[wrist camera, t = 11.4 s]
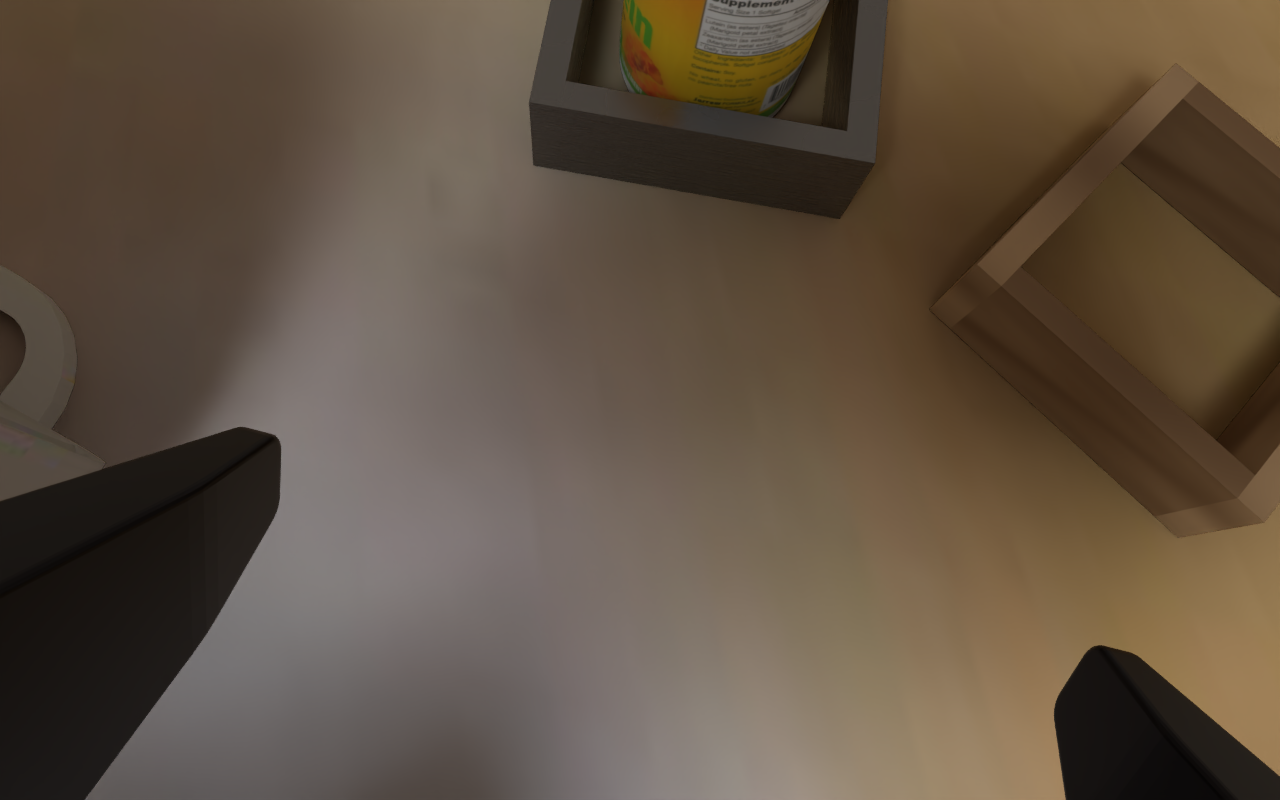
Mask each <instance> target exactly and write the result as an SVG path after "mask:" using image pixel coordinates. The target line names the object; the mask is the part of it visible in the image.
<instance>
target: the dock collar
mask: <svg viewBox="0 0 1280 800" xmlns="http://www.w3.org/2000/svg"><path fill="white" fill-rule="evenodd" d="M593 5H594V0H551V2H550V7H549V12H548V16H547V21H546V26H545V30H544V35H543V40H542V44H541V49H540V54H539V58H538V63H537V68H536V72H535V77H534V82H533V86H532V91H531V96H530V100H529V107H530V122H531V136H532V151H533V165H535V166H541V167H547V168H553V169H558V170H564V171H570V172H575V173H581V174H587V175H593V176H598V177H604V178H610V179H616V180H621V181H627V182H633V183H639V184H644V185H650V186H656V187H661V188H667V189H673V190H679V191H684V192H690V193H696V194H702V195H707V196H713V197H719V198H724V199H730V200H736V201H742V202H747V203H753V204H759V205H765V206H770V207H776V208H782V209H787V210H793V211H799V212H805V213H810V214H816V215H822V216H828V217H833V218H839V219H840V217H841V216H842V214H843V213H844V211H845V210H846V208H847V206H848V205H849V203H850V202H851V200H852V199H853V197H854V195H855V194H856V192H857V191H858V189H859V188H860V186H861V184H862V183H863V181H864V180H865V178H866V177H867V175H868V174H869V172H870V170H871V169H872V167H873V166H874V164H875V158H876V145H877V132H878V119H879V107H880V94H881V81H882V69H883V56H884V43H885V30H886V18H887V5H888V0H834V8H833V18H832V28H831V38H830V48H829V58H828V68H827V78H826V87H825V97H824V107H823V117H822V127H821V126H815V125H810V124H804V123H799V122H793V121H787V120H782V119H776V118H771V117H765V116H759V115H754V114H748V113H743V112H737V111H731V110H726V109H720V108H715V107H709V106H703V105H698V104H692V103H687V102H681V101H675V100H670V99H664V98H659V97H653V96H647V95H642V94H636V93H630V92H625V91H619V90H614V89H608V88H602V87H597V86H591V85H586V84H580V83H578V81H579V76H580V71H581V66H582V61H583V56H584V51H585V46H586V41H587V36H588V31H589V25H590V20H591V15H592V10H593Z"/></svg>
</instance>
